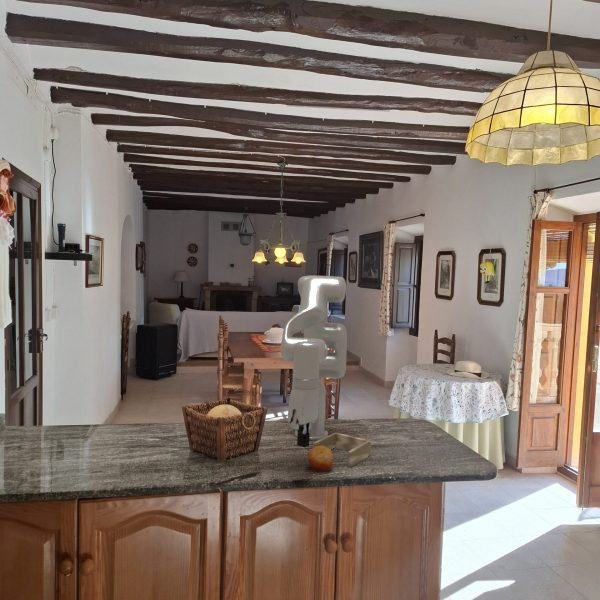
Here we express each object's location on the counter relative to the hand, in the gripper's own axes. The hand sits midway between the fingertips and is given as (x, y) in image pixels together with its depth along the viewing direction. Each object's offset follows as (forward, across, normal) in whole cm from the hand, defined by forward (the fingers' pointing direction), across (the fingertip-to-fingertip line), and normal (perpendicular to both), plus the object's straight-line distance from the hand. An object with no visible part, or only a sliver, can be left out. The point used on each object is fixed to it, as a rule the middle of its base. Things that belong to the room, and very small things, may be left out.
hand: (303, 445), depth 150 cm
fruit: (+10, -11, 0) cm, 15 cm away
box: (+10, -25, 0) cm, 27 cm away
